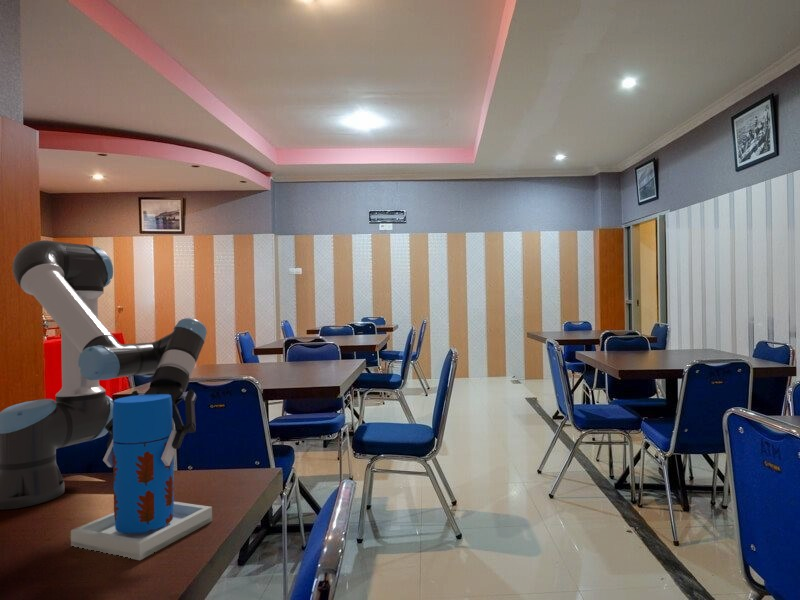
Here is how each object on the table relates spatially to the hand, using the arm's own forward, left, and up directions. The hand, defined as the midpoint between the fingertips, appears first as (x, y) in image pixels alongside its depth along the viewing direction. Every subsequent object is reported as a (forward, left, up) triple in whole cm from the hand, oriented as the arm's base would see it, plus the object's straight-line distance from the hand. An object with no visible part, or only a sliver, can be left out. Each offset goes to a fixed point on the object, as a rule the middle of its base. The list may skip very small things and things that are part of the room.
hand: (136, 463), depth 99 cm
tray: (-1, +3, -15) cm, 15 cm away
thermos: (-1, +3, -13) cm, 13 cm away
